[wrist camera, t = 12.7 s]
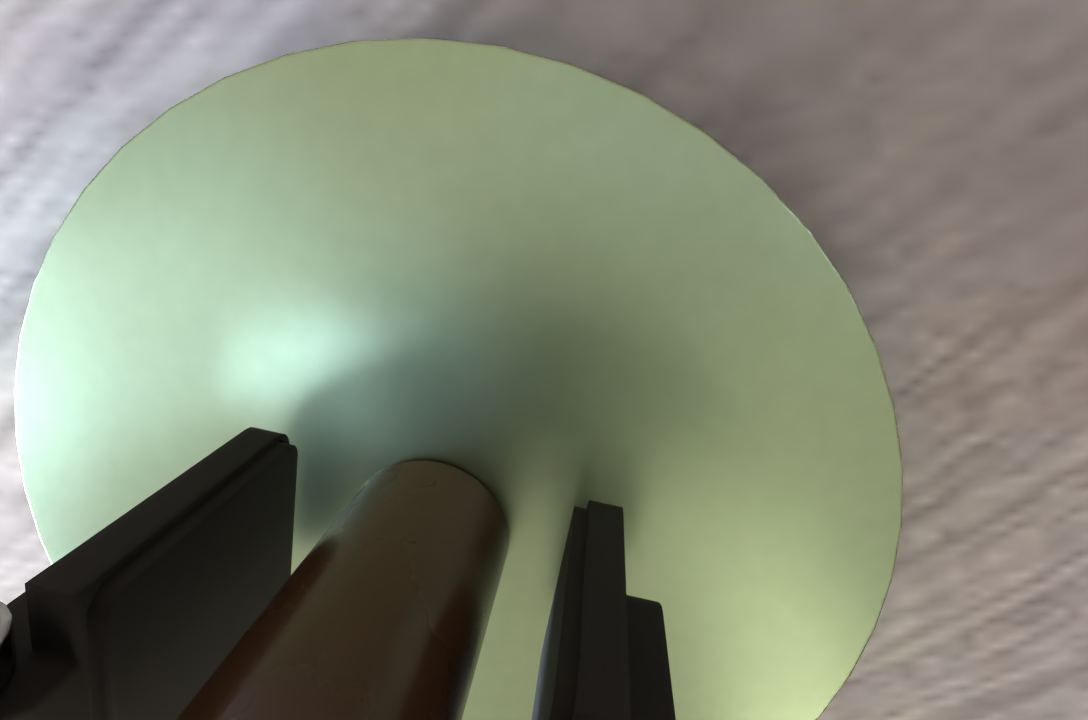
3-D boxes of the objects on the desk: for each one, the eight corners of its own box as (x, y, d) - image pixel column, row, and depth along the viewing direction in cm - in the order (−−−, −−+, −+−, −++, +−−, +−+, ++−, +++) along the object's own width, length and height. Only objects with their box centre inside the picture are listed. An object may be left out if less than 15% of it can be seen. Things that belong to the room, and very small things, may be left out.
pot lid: (172, -132, 9) (-921, -888, 3) (1075, 323, 9) (2032, 633, 3) (15, 614, 14) (-501, 996, 7) (620, 888, 14) (627, 1466, 8)
